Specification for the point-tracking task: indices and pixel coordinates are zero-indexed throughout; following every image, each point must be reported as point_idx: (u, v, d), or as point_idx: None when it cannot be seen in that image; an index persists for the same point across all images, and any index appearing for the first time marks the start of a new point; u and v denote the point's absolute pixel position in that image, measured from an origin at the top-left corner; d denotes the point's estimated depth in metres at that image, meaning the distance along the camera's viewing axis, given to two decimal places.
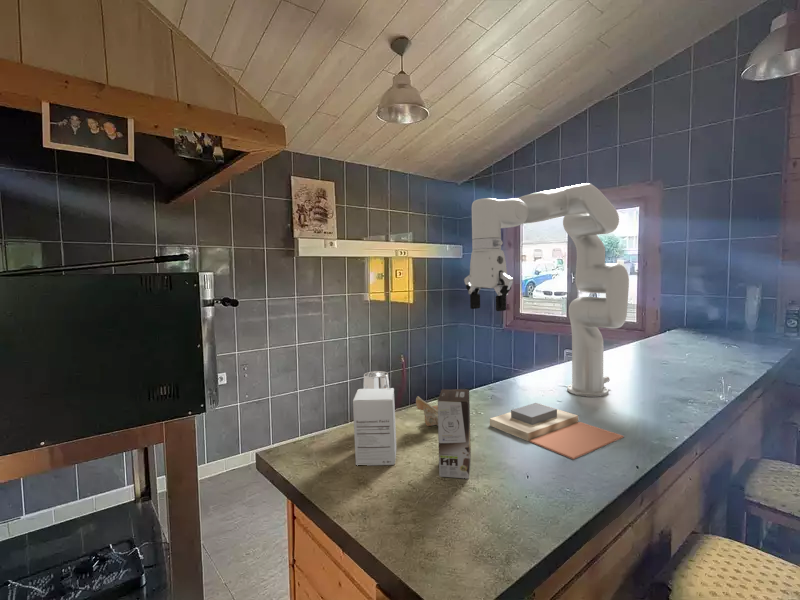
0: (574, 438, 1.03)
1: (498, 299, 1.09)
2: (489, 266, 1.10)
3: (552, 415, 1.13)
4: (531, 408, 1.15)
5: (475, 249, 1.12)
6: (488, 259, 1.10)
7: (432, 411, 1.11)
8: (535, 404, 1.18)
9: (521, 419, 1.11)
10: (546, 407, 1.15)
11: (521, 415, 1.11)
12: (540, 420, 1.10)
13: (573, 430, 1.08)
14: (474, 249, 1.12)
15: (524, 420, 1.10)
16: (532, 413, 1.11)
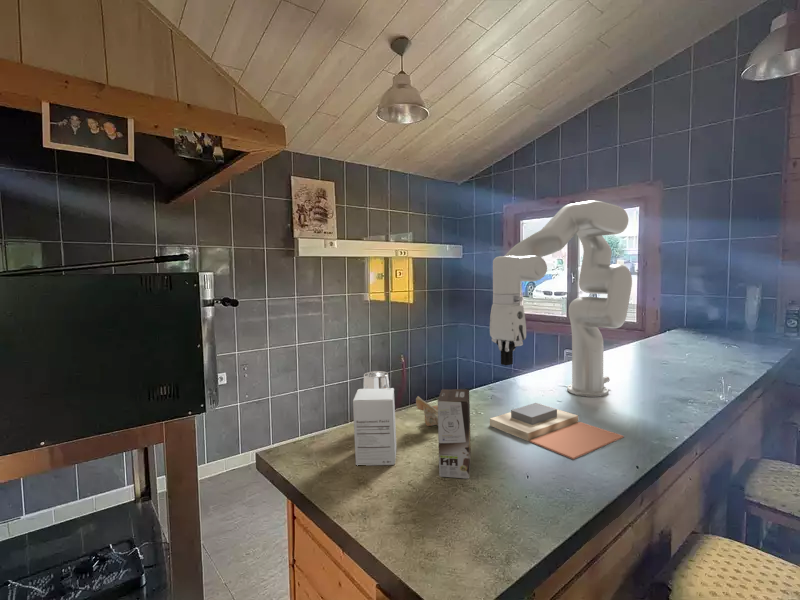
0: (574, 438, 1.03)
1: (505, 354, 1.19)
2: (510, 321, 1.16)
3: (552, 415, 1.13)
4: (531, 408, 1.15)
5: (496, 303, 1.18)
6: (509, 314, 1.16)
7: (432, 411, 1.11)
8: (535, 404, 1.18)
9: (521, 419, 1.11)
10: (546, 407, 1.15)
11: (521, 415, 1.11)
12: (540, 420, 1.10)
13: (573, 430, 1.08)
14: (495, 303, 1.18)
15: (524, 420, 1.10)
16: (532, 413, 1.11)
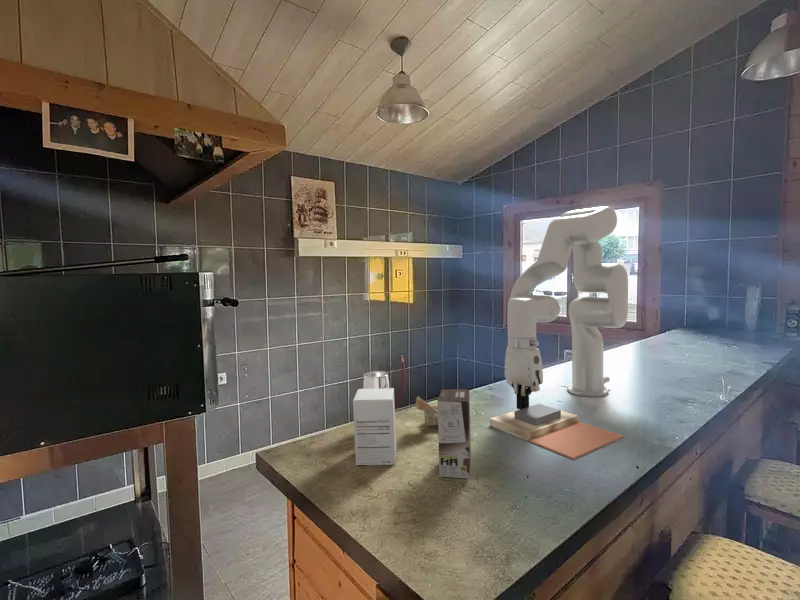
0: (574, 438, 1.03)
1: (521, 399, 1.15)
2: (526, 366, 1.12)
3: (555, 416, 1.12)
4: (535, 409, 1.14)
5: (511, 347, 1.14)
6: (525, 359, 1.12)
7: (432, 411, 1.11)
8: (539, 405, 1.17)
9: (525, 420, 1.10)
10: (550, 408, 1.14)
11: (525, 416, 1.10)
12: (544, 421, 1.09)
13: (573, 430, 1.08)
14: (510, 347, 1.14)
15: (528, 421, 1.09)
16: (536, 415, 1.10)
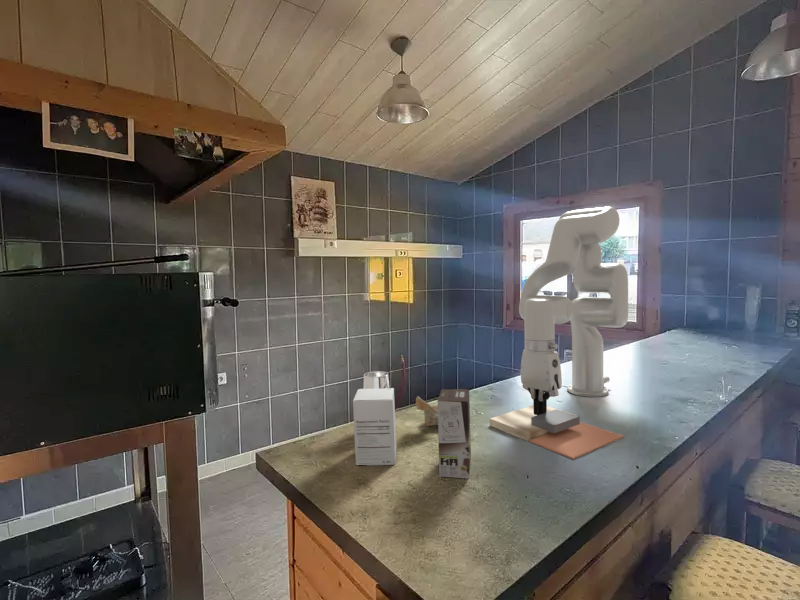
0: (574, 438, 1.03)
1: (539, 404, 1.10)
2: (544, 370, 1.07)
3: (574, 423, 1.07)
4: (552, 415, 1.09)
5: (528, 350, 1.09)
6: (543, 362, 1.07)
7: (432, 411, 1.11)
8: (556, 411, 1.12)
9: (542, 427, 1.05)
10: (568, 414, 1.09)
11: (543, 422, 1.05)
12: (563, 428, 1.04)
13: (573, 430, 1.08)
14: (527, 350, 1.10)
15: (546, 428, 1.04)
16: (554, 421, 1.05)
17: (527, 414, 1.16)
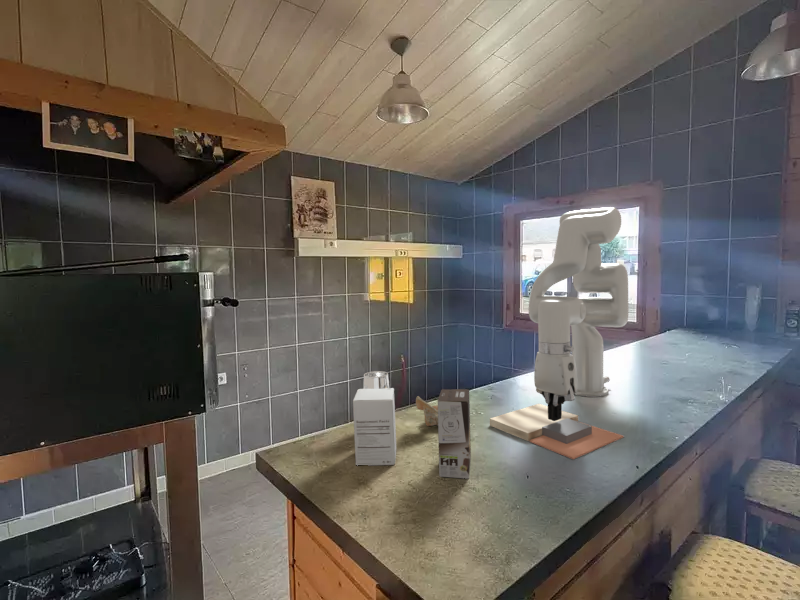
0: None
1: (554, 409, 1.07)
2: (559, 373, 1.03)
3: (586, 433, 1.04)
4: (564, 425, 1.06)
5: (543, 353, 1.05)
6: (558, 366, 1.03)
7: (432, 411, 1.11)
8: (567, 420, 1.09)
9: (554, 437, 1.03)
10: (580, 423, 1.07)
11: (554, 432, 1.03)
12: (575, 438, 1.02)
13: None
14: (542, 353, 1.06)
15: (557, 438, 1.02)
16: (566, 431, 1.02)
17: (527, 414, 1.16)
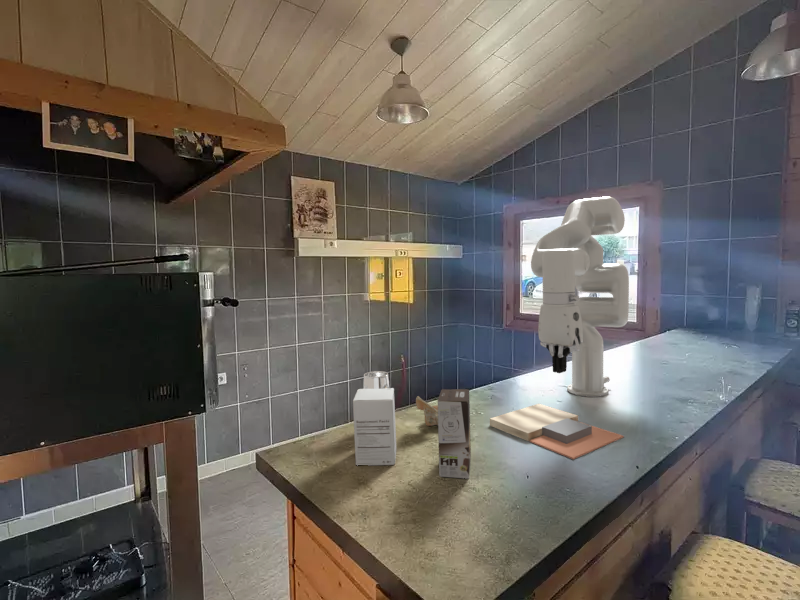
0: None
1: (559, 361, 1.05)
2: (564, 323, 1.01)
3: (586, 433, 1.04)
4: (564, 425, 1.06)
5: (547, 304, 1.03)
6: (563, 316, 1.01)
7: (432, 411, 1.11)
8: (567, 420, 1.09)
9: (554, 437, 1.03)
10: (580, 423, 1.07)
11: (554, 432, 1.03)
12: (575, 438, 1.02)
13: None
14: (546, 303, 1.04)
15: (557, 438, 1.02)
16: (566, 431, 1.02)
17: (527, 414, 1.16)
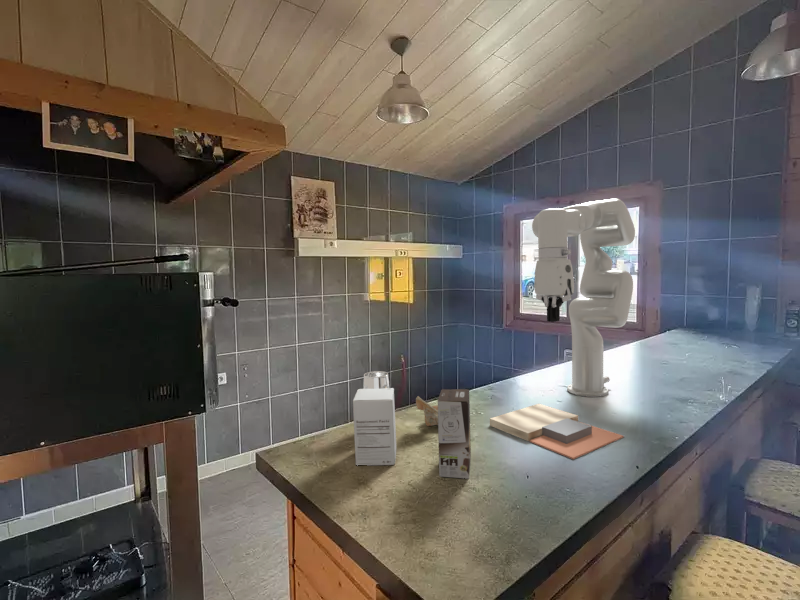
0: None
1: (552, 310, 1.16)
2: (557, 275, 1.12)
3: (586, 433, 1.04)
4: (564, 425, 1.06)
5: (542, 258, 1.14)
6: (556, 268, 1.13)
7: (432, 411, 1.11)
8: (567, 420, 1.09)
9: (554, 437, 1.03)
10: (580, 423, 1.07)
11: (554, 432, 1.03)
12: (575, 438, 1.02)
13: None
14: (541, 258, 1.15)
15: (557, 438, 1.02)
16: (566, 431, 1.02)
17: (527, 414, 1.16)
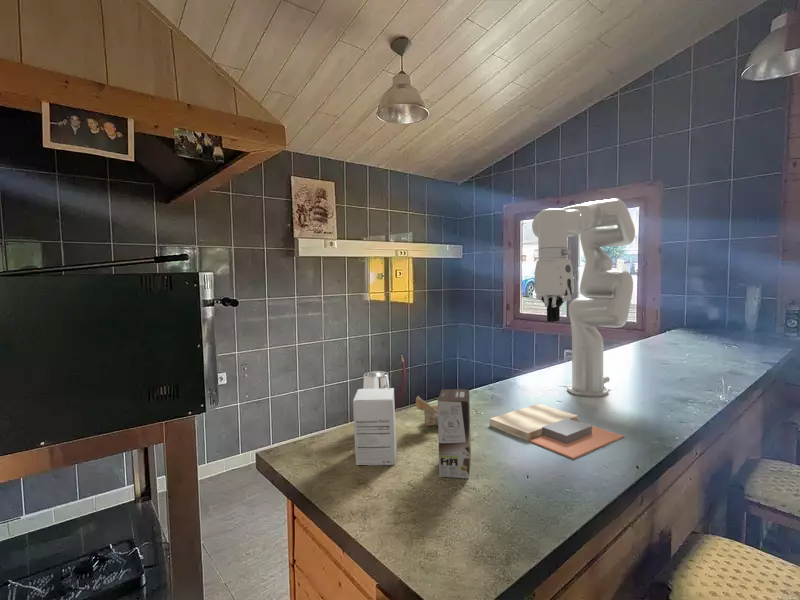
0: None
1: (552, 310, 1.16)
2: (557, 275, 1.12)
3: (586, 433, 1.04)
4: (564, 425, 1.06)
5: (542, 258, 1.14)
6: (556, 268, 1.13)
7: (432, 411, 1.11)
8: (567, 420, 1.09)
9: (554, 437, 1.03)
10: (580, 423, 1.07)
11: (554, 432, 1.03)
12: (575, 438, 1.02)
13: None
14: (541, 258, 1.15)
15: (557, 438, 1.02)
16: (566, 431, 1.02)
17: (527, 414, 1.16)
